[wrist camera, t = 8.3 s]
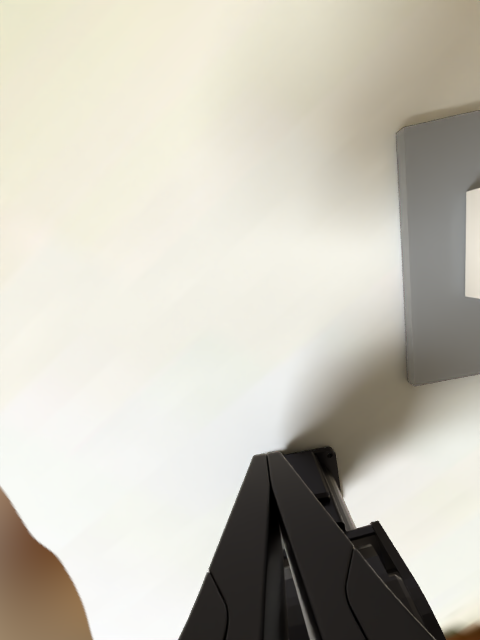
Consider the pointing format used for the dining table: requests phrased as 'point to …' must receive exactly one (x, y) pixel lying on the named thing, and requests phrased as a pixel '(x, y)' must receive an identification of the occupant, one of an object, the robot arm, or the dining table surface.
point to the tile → (472, 244)
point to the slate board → (438, 246)
